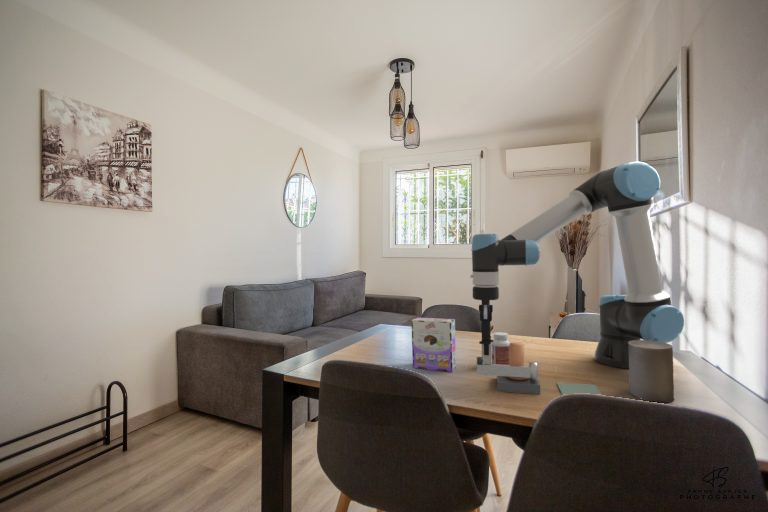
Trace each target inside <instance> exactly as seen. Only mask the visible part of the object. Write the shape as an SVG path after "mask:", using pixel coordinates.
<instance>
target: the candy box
mask: <svg viewBox="0 0 768 512" xmlns="http://www.w3.org/2000/svg"><path fill="white" fill-rule="evenodd" d="M410 323H411V347H412V351H411V352H412V368H413V369H421V370H431V371H437V372H438V371H439V372H440V371H441V372H446V373H447V372H451V373H452V372H453V371H454V370H455V369H457V359H456V357H457V354H456V352H457V350H456V349H457V347H456V319H454V318H434V317H433V318H432V317H420V316H419V317H415V318H413V319H411V321H410Z"/></svg>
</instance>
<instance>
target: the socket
mask: <svg viewBox="0 0 768 512" xmlns="http://www.w3.org/2000/svg"><path fill="white" fill-rule="evenodd" d="M496 377H497V378H496V382H497V392H505V393H518V394H519V393H520V394H531V395H541V384H540V381H539V379H538V383H531V382H529V379H528V380H525V381H523V380H510V379H509V378H507V377H505V376H496Z"/></svg>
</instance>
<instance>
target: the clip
mask: <svg viewBox="0 0 768 512" xmlns="http://www.w3.org/2000/svg"><path fill="white" fill-rule="evenodd" d="M538 365H539V364H538V362H537V361H528V365H525V366H519V365H502V364H492V363H491V364H486V363H483V357H482V356H477V357H476V369H477V370H476V371H477V372H476V373H477V375H484V376H496V377H497V376H511V377H525V378H529V382H531V383H538V380H539V373H538V372H539V370H538V369H539V366H538Z"/></svg>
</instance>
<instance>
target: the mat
mask: <svg viewBox="0 0 768 512" xmlns="http://www.w3.org/2000/svg"><path fill="white" fill-rule="evenodd" d="M556 386H557V387H558V390H559V392H560V393H561V395H562V394H574V393H590V394H602V392H601V391H600V389H599V388H598V387H597V386H596V384H583V383H582V384H581V383H566V382H556Z"/></svg>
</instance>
